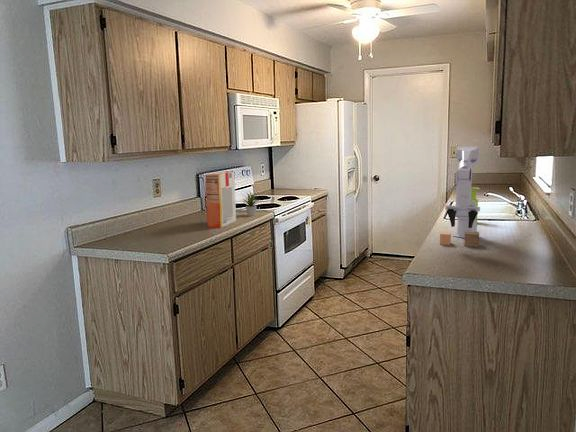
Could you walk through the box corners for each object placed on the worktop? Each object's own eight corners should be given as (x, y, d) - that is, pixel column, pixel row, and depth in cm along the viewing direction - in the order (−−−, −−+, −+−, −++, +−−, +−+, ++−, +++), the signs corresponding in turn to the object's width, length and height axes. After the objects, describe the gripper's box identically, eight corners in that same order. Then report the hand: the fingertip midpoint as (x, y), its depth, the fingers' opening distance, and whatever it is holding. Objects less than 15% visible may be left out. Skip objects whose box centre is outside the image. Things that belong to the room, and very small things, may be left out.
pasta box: (223, 220, 297) (221, 171, 292) (236, 220, 294) (234, 171, 289) (207, 227, 275) (205, 174, 270) (220, 227, 273) (218, 174, 268)
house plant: (268, 214, 313) (268, 189, 310) (254, 218, 302) (253, 192, 299) (252, 213, 321) (251, 188, 319) (238, 216, 311) (237, 190, 308)
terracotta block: (440, 242, 227) (440, 232, 226) (450, 243, 225) (450, 232, 224) (439, 244, 222) (440, 234, 222) (450, 245, 221) (450, 234, 220)
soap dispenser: (475, 224, 269) (477, 188, 266) (464, 222, 274) (465, 187, 271) (480, 222, 273) (482, 187, 270) (469, 221, 278) (470, 186, 275)
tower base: (464, 243, 224) (464, 237, 224) (478, 244, 222) (478, 238, 222) (464, 246, 219) (464, 240, 218) (478, 247, 216) (478, 240, 216)
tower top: (464, 237, 224) (464, 231, 223) (478, 238, 222) (478, 231, 221) (464, 240, 218) (464, 233, 218) (478, 240, 216) (479, 234, 216)
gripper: (443, 195, 212) (441, 226, 212) (476, 196, 202) (474, 228, 203) (449, 195, 217) (448, 225, 218) (482, 196, 207) (480, 228, 208)
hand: (461, 227), depth 211 cm, fingers open, 7 cm apart
